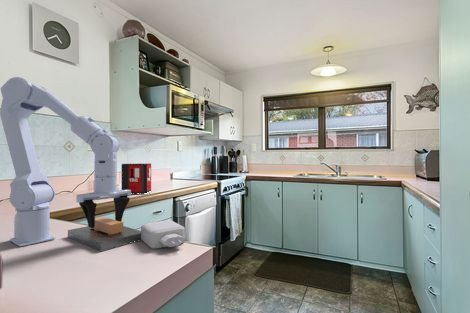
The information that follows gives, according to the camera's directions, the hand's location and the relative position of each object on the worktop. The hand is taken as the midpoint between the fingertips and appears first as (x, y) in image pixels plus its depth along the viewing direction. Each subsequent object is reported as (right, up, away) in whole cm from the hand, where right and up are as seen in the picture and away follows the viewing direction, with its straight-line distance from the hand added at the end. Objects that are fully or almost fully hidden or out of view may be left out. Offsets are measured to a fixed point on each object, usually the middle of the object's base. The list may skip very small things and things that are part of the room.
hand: (105, 224), depth 73 cm
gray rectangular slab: (0, -4, 0) cm, 4 cm away
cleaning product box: (-29, -6, +99) cm, 104 cm away
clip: (0, -4, 0) cm, 4 cm away
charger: (+19, -4, -6) cm, 20 cm away
